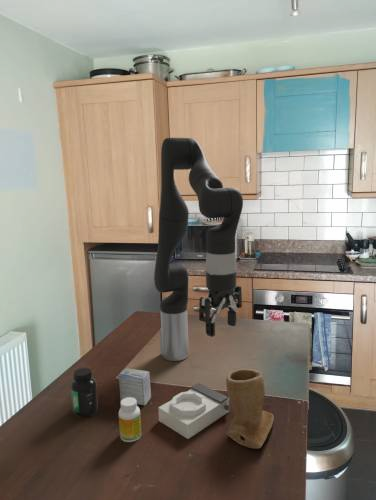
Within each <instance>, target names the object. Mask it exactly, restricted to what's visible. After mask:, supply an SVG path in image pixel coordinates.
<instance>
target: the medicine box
mask: <svg viewBox="0 0 376 500" xmlns="http://www.w3.org/2000/svg"><path fill="white" fill-rule="evenodd" d="M150 373H151V372H150V371H147V370H140V369H134V368H127V367H126V368H124V369H123V370H122V371H121V372H120V373H119V374H118V382H119V394H120V396H119V397H120V402H121V401H122V400H123V399H124V398H128V397H132V398H135V399H136V400H137V405H142V406H146V405H147V404H148V402H149V401H150V400H151V398H152V392H151V377H150Z"/></svg>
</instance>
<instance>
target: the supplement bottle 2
mask: <svg viewBox="0 0 376 500" xmlns="http://www.w3.org/2000/svg"><path fill="white" fill-rule="evenodd" d="M118 425H119V438H120V439H121V441H123V442H124V443H132V442H137V441H138V440H139V439H140V438H141V436H142V421H141V410H140V407H139V406H138V404H137V400H136V399H135V398H132V397H128V398H124V399H123V400H122V401H121V400H120V408H119V411H118Z"/></svg>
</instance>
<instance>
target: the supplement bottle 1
mask: <svg viewBox="0 0 376 500" xmlns="http://www.w3.org/2000/svg"><path fill="white" fill-rule="evenodd" d="M72 376H73V380H72V381H71V384H70V393H71V395H70V396H71V402H72V403H71V404H72V413H73V415H74V416H75V417H78V418H89V417H92V416H94V415H95V414H96V413H97V412H98V409H99V402H98V401H99V400H98V387H97V381H96V379H95V378H94V377H93V374H92V369H91V368H89V367H80V368H78V369H75V370H74V371H73V375H72Z"/></svg>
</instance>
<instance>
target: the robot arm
mask: <svg viewBox="0 0 376 500" xmlns="http://www.w3.org/2000/svg"><path fill="white" fill-rule="evenodd" d="M160 170H161V171H160V172H161V173H160V175H161V176H160V178H161V181H160V182H161V183H160V184H161V185H160V186H161V187H160V188H161V189H160V201H159V202H160V203H159V204H160V205H159V213H158V214H159V215H158V237H157V238H158V242H157V252H156V259H155V265H154V273H153V276H154V278H153V281H154V287H155V289H156V290H157V292H158V293H163V294H164V293H165V294H166V293H171V292H172V293H171V294H170V295H169V296H167V297H166V298H164V299H162V300H161V301H160V306H159V307H160V308H159V309H160V324H161V325H160V327H161V328H160V329H159V343H160V355H162V358H163V359H164V360H165V361H166V360H167V361H170V362H178V361H180V362H181V361H183V360H186V359H187V358H188V357H189V329H188V327H189V326H188V302H189V272H188V268H187V267H186V265H185V264H184V263H182V262H176V263H171V260H172V257H173V254H174V253H175V251H176V250H177V248H178V246H179V245H180V244H181V242H183V239H184V238H185V236H186V234H187V232H188V226H189V225H188V224H189V216H190V215H189V212H190V211H189V209H188V208H189V207H188V206H187V203H186V202H185V200H184V198H183V196H182V195H181V193H180V191H179V190H178V187H177V185H176V181H175V175H174V173H175V171H176V170H178V171H179V170H180V171H182V170H183V171H185V170H186V171H187V170H190V171H189V173H188V182H189V185H190V188H192V191H194V193H195V194H196V197H197V200H198V209H199V212H200V214H201V215H202V216H203V217H204V218H207V219H218V218H219V219H220V218H223V219H222V222H221V223H220V224H218V225H216V226H213V227H210V228H209V229H208V230H207V232H206V255H205V287H206V289H207V290H208V296H207V297H203V296H201V297H200V298H199V307H198V309H199V310H198V311H199V313H198V321H200V322H204V323H205V334H206V336H209V337H211V338H213V337H214V336H216V324H215V323H216V322H215V321H216V318H217V317H218V315H220V313H221V311H223V309H227V310H228V311H227V325H228V326H231V327H235V326H236V325H237V312H238V311H239V309H241V308H242V307H243V301H242V300H243V297H242V296H243V295H242V286H240V285H237V256H236V234H237V230H238V226H239V221H240V218H241V214H242V212H243V208H244V207H243V206H244V199H243V195H242V192H241V191H240V189H238V188H236V187H224V184H223V183H222V180H221V179H220V178H219V177H218V175H217V174H216V173H215V172H214V171H213V169H212V168H211V167H210V165H209V162H208V159H207V158H206V156H205V154H204V151H203V149H202V147H201V145H200V144H199V142H198V141H197V140H196V139H194V138H190V137H166V138H164V139H163V142H162V143H161V150H160Z"/></svg>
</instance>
